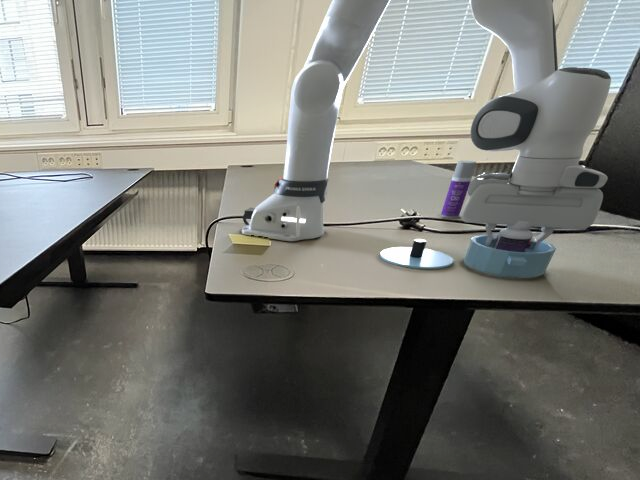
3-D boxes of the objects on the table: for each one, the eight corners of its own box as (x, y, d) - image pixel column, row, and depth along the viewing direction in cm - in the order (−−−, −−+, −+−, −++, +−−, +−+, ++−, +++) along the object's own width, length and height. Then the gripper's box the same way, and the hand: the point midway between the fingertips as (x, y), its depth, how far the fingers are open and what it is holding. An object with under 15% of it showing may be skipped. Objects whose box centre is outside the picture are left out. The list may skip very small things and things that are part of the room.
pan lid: (377, 267, 89) (382, 246, 86) (381, 248, 99) (386, 229, 97) (453, 275, 83) (461, 253, 80) (449, 255, 93) (456, 235, 91)
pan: (467, 279, 81) (477, 253, 78) (460, 252, 95) (468, 229, 92) (553, 288, 75) (567, 261, 72) (532, 258, 89) (543, 234, 86)
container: (444, 218, 121) (461, 162, 113) (437, 214, 125) (454, 160, 117) (461, 218, 120) (480, 162, 112) (454, 214, 124) (472, 160, 116)
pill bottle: (523, 271, 82) (546, 222, 77) (493, 271, 83) (513, 222, 78) (510, 263, 87) (530, 216, 81) (481, 262, 88) (499, 215, 82)
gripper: (475, 174, 77) (451, 246, 85) (620, 177, 69) (579, 257, 76) (472, 170, 82) (449, 238, 89) (608, 172, 73) (570, 248, 81)
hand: (510, 247), depth 83 cm, fingers closed on pill bottle, 5 cm apart
